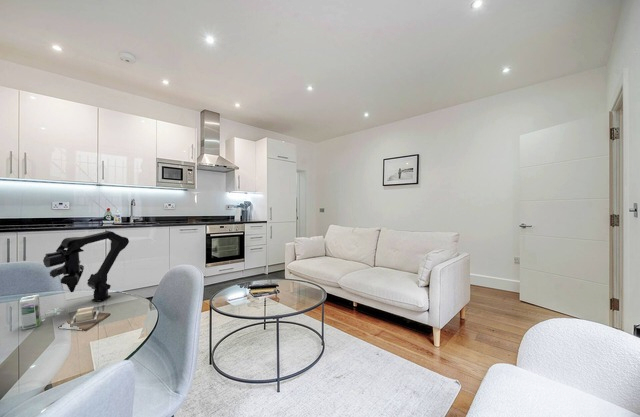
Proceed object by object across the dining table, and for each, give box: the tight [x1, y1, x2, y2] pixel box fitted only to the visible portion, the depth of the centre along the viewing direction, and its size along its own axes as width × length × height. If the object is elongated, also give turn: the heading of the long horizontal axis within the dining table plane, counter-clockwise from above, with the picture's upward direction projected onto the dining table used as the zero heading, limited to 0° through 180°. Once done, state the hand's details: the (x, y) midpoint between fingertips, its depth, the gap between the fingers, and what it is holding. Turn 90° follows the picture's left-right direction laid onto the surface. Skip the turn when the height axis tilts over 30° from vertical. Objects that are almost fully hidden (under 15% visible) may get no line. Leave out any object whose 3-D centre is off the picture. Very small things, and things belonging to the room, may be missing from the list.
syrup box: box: [19, 293, 42, 331], centre depth 125 cm, size 6×6×14 cm
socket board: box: [57, 309, 111, 332], centre depth 132 cm, size 14×14×2 cm
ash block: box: [74, 306, 95, 323], centre depth 131 cm, size 6×6×5 cm
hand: (74, 288), depth 140 cm, fingers open, 9 cm apart
